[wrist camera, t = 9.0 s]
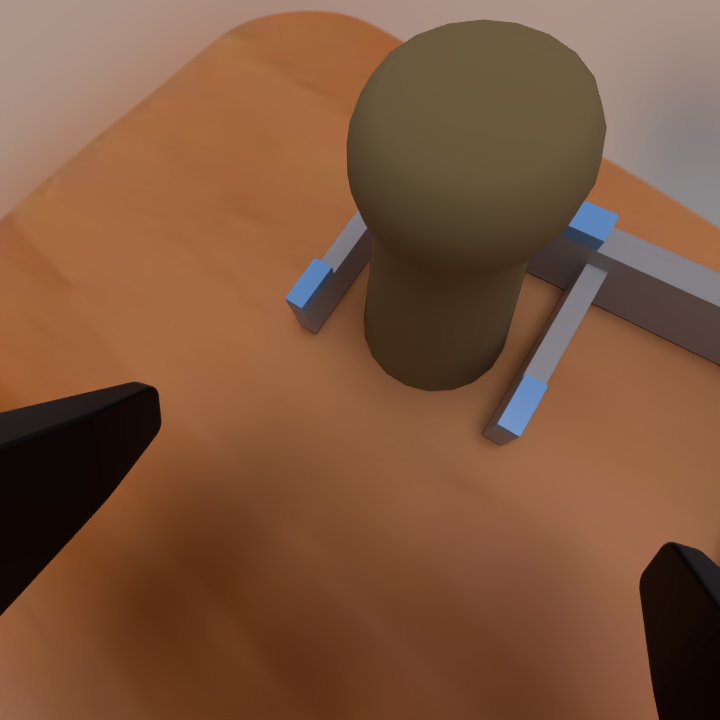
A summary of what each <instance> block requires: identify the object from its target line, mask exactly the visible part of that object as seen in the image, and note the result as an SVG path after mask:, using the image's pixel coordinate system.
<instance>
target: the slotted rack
mask: <svg viewBox="0 0 720 720" xmlns="http://www.w3.org/2000/svg"><path fill="white" fill-rule="evenodd" d="M618 217H619V215H617V214H615V213H612V212H610V211H607V210H605V209H603V208H600V207H598V206H596V205H593V204H591V203H589V202H586V201H584V202H583V204H582V205H581V207H580V209H579V210H578V212H577V213H576V215H575V216H574V218H573V219H572V221H571V222H570V224H569V225H568V227H567V228H566V230H565V231H564V232H563V233H562V234H561V235H559V236H558V237H557V238H555V239H554V240H553V241H552V242H550V243H549V244H548V245H546V246H545V247H544V248H543V249H541V250H540V251H539V252H537V253H536V254H535V255H534V256H532V257H531V258H530V259H529V261H528V265H527V268H526V272H529V273H531V274H533V275H535V276H537V277H539V278H541V279H543V280H545V281H547V282H549V283H551V284H553V285H555V286H557V287H559V288H562V289H564V290H565V291H564V293H563V294H562V296H561V298H560V300H559V301H558V303H557V305H556V307H555V308H554V310H553V312H552V314H551V315H550V317H549V319H548V321H547V322H546V324H545V326H544V328H543V329H542V331H541V333H540V335H539V336H538V338H537V340H536V341H535V343H534V345H533V347H532V348H531V350H530V352H529V354H528V355H527V357H526V359H525V361H524V362H523V364H522V366H521V368H520V369H519V371H518V373H517V375H516V376H515V378H514V380H513V381H512V383H511V385H510V387H509V388H508V390H507V392H506V394H505V395H504V397H503V399H502V401H501V402H500V404H499V406H498V408H497V409H496V411H495V413H494V415H493V416H492V418H491V420H490V422H489V423H488V425H487V427H486V428H485V430H484V432H483V434H482V435H484V436H485V437H487V438H489V439H490V440H492V441H494V442H495V443H497V444H499V445H500V446H502V445H504V444H506V443H508V442H510V441H512V440H515V439H517V438H519V437H520V436H521V434H522V433H523V431H524V429H525V427H526V425H527V424H528V422H529V420H530V418H531V416H532V414H533V413H534V411H535V409H536V407H537V405H538V404H539V402H540V400H541V398H542V396H543V395H544V393H545V391H546V389H547V387H548V385H546V384H547V382H548V380H549V378H550V377H551V375H552V373H553V371H554V369H555V368H556V366H557V364H558V362H559V360H560V358H561V357H562V355H563V353H564V351H565V349H566V348H567V346H568V344H569V342H570V340H571V339H572V337H573V335H574V333H575V331H576V330H577V328H578V326H579V324H580V322H581V321H582V319H583V317H584V315H585V313H586V312H587V310H588V308H589V306H590V304H591V303H593V304H595V305H597V306H599V307H601V308H603V309H605V310H607V311H609V312H611V313H613V314H615V315H617V316H619V317H621V318H623V319H626V320H628V321H630V322H632V323H634V324H636V325H638V326H640V327H642V328H644V329H646V330H648V331H650V332H652V333H654V334H657V335H659V336H661V337H663V338H665V339H667V340H669V341H671V342H673V343H675V344H677V345H679V346H681V347H683V348H685V349H687V350H690V351H692V352H694V353H696V354H698V355H700V356H702V357H704V358H706V359H708V360H710V361H712V362H714V363H716V364H718V365H720V273H718V272H716V271H714V270H711V269H709V268H707V267H704V266H702V265H700V264H698V263H695V262H693V261H691V260H688V259H686V258H684V257H681V256H679V255H677V254H674V253H672V252H670V251H668V250H665V249H663V248H661V247H658V246H656V245H654V244H651V243H649V242H647V241H644V240H642V239H640V238H638V237H635V236H633V235H631V234H628V233H626V232H624V231H621V230H619V229H617V228H614V227H613V226H614V224H615V222H616V221H617V219H618ZM372 243H373V235H372V234H371V233H370V231H369V230H368V228H367V226H366V225H365V223H364V221H363V219H362V217H361V215H360V212H359V210H358V211H357V212H356V213H355V215H354V216H353V217H352V219H351V220H350V222H349V223H348V224H347V226H346V227H345V228H344V230H343V231H342V232H341V234H340V235H339V236H338V238H337V239H336V240H335V242H334V243H333V244H332V246H331V247H330V248H329V250H328V251H327V253H326V254H325V255H324V257H323V258H322V259H321V261H320V260H318V259H316V258H315V259H314V260H313V261H312V263H311V264H310V265H309V267H308V268H307V269H306V271H305V272H304V273H303V275H302V276H301V277H300V279H299V280H298V281H297V283H296V284H295V285H294V287H293V288H292V289H291V291H290V292H289V293H288V295H287V296H286V297H285V299H286V301H287V303H288V304H289V306H290V308H291V309H292V311H293V313H294V314H295V316H296V318H297V319H298V321H299V323H300V324H301V326H303V327H305V328H306V329H308V330H309V331H311V332H313V333H314V334H316V333H317V332H318V331H319V329H320V328H321V326H322V325H323V324H324V322H325V321H326V319H327V318H328V317H329V315H330V314H331V312H332V311H333V310H334V308H335V307H336V305H337V304H338V303H339V301H340V300H341V298H342V297H343V295H344V294H345V293H346V291H347V290H348V288H349V287H350V286H351V284H352V283H353V281H354V280H355V279H356V277H357V276H358V274H359V273H360V272H361V270H362V269H363V267H364V266H365V265H366V263H367V262H368V260H369V259H370V258H371V252H372Z"/></svg>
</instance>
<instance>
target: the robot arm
mask: <svg viewBox="0 0 720 720" xmlns="http://www.w3.org/2000/svg"><path fill="white" fill-rule="evenodd" d="M160 427H161V412H160V402H159V394H158V391H157V389H156V388H155V387H153V386H150V385H147V384H143V383H140V382H130V383H126V384H122V385H117V386H113V387H109V388H105V389H100V390H96V391H92V392H87V393H83V394H79V395H75V396H70V397H66V398H62V399H57V400H53V401H49V402H45V403H40V404H36V405H32V406H27V407H23V408H19V409H15V410H10V411H6V412H2V413H0V616H1V615H2V614H3V613H4V612H5V610H6V609H7V608H8V607H9V606H10V605H11V604H12V603H13V602H14V601H15V600H16V598H17V597H18V596H19V595H20V594H21V593H22V592H23V591H24V590H25V589H26V588H27V587H28V585H29V584H30V583H31V582H32V581H33V580H34V579H35V578H36V577H37V576H38V575H39V573H40V572H41V571H42V570H43V569H44V568H45V567H46V566H47V565H48V564H49V563H50V561H51V560H52V559H53V558H54V557H55V556H56V555H57V554H58V553H59V552H60V551H61V550H62V548H63V547H64V546H65V545H66V544H67V543H68V542H69V541H70V540H71V539H72V538H73V536H74V535H75V534H76V533H77V532H78V531H79V530H80V529H81V528H82V527H83V526H84V525H85V523H86V522H87V521H88V520H89V519H90V518H91V517H92V516H93V515H94V514H95V513H96V511H97V510H98V509H99V508H100V507H101V506H102V505H103V504H104V502H105V501H106V500H107V499H108V498H109V496H110V495H111V494H112V493H113V492H114V490H115V489H116V488H117V487H118V485H119V484H120V483H121V481H122V480H123V479H124V477H125V476H126V475H127V473H128V472H129V471H130V469H131V468H132V467H133V465H134V464H135V463H136V462H137V460H138V459H139V458H140V456H141V455H142V454H143V452H144V451H145V450H146V448H147V447H148V446H149V444H150V443H151V442H152V440H153V439H154V438H155V437H156V435H157V434H158V432H159V430H160ZM639 589H640V598H641V605H642V613H643V620H644V628H645V636H646V643H647V651H648V658H649V666H650V673H651V680H652V686H653V692H654V698H655V703H656V707H657V712H658V717H659V720H720V568H719V567H718V566H717V565H716V564H715V563H714V562H713V561H712V560H711V559H710V558H708V557H707V556H706V555H705V554H704V553H703V552H701V551H700V550H698V549H695V548H692V547H689V546H685V545H682V544H678V543H675V542H668V543H666V544H664V545H663V546H662V547H661V548H660V550H659V551H658V552H657V554H656V555H655V557H654V558H653V559H652V561H651V562H650V563H649V565H648V566H647V567H646V569H645V570H644V572H643V573H642V575H641V578H640V585H639Z"/></svg>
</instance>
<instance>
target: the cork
mask: <svg viewBox="0 0 720 720" xmlns="http://www.w3.org/2000/svg"><path fill="white" fill-rule="evenodd" d="M605 134H606V123H605V117H604V112H603V107H602V103H601V99H600V95H599V92H598V88H597V84H596V80H595V77H594V76H593V74H592V73H591V72H590V71H589V69H588V68H587V66H586V65H585V64H584V62H583V61H582V60H581V58H580V57H579V56H578V55H577V53H576V52H574V51H573V50H571V49H570V48H568V47H567V46H566V45H564V44H563V43H561V42H560V41H558V40H557V39H555V38H554V37H552V36H551V35H549V34H547V33H544V32H541V31H538V30H535V29H532V28H529V27H527V26H524V25H521V24H518V23H511V22H501V21H490V20H476V21H467V22H459V23H450V24H446V25H443V26H441V27H438V28H435V29H432V30H429V31H426V32H424V33H421V34H418V35H416V36H414V37H413V38H411V39H410V40H408V41H407V42H405V43H404V44H402V45H401V46H399V47H398V48H396V49H395V50H393V51H392V52H390V53H389V54H388V56H387V57H386V58H385V59H384V60H383V62H382V63H381V64H380V65H379V66H378V68H377V69H376V70H375V71H374V72H373V74H372V75H371V76H370V78H369V80H368V81H367V83H366V85H365V87H364V88H363V90H362V92H361V93H360V96H359V99H358V101H357V104H356V107H355V109H354V112H353V115H352V117H351V120H350V124H349V131H348V138H347V174H348V179H349V184H350V190H351V194H352V196H353V198H354V201H355V203H356V205H357V208H358V210H359V212H360V215H361V217H362V219H363V221H364V223H365V225H366V226H367V228H368V230H369V231H370V233H371V234H372V235H373V243H372V252H371V261H370V270H369V279H368V288H367V297H366V306H365V315H364V323H365V338H366V341H367V343H368V346H369V349H370V351H371V354H372V356H373V357H374V359H375V360H376V361H377V362H378V363H379V365H380V366H381V367H382V368H383V369H384V371H385V372H386V373H387V374H389V375H390V376H392V377H394V378H395V379H397V380H398V381H400V382H402V383H403V384H405V385H407V386H411V387H415V388H419V389H423V390H427V391H440V390H453V389H456V388H459V387H461V386H464V385H467V384H469V383H472V382H474V381H476V380H477V379H478V378H479V377H481V376H482V375H483V374H484V373H486V372H487V371H488V370H489V369H491V368H492V366H493V365H494V363H495V361H496V360H497V358H498V357H499V355H500V353H501V352H502V350H503V348H504V344H505V341H506V337H507V334H508V330H509V327H510V324H511V320H512V317H513V313H514V310H515V306H516V303H517V299H518V296H519V292H520V289H521V285H522V282H523V278H524V275H525V272H526V268H527V265H528V261H529V259H530V258H531V257H532V256H534V255H535V254H536V253H537V252H539V251H540V250H541V249H543V248H544V247H545V246H546V245H548V244H549V243H550V242H552V241H553V240H554V239H555V238H557V237H558V236H559V235H561V234H562V233H563V232H564V231H565V230H566V228H567V227H568V225H569V224H570V222H571V221H572V219H573V218H574V216H575V215H576V213H577V212H578V210H579V209H580V207H581V205H582V204H583V202H584V201H585V199H586V197H587V196H588V194H589V193H590V191H591V189H592V188H593V186H594V185H595V183H596V179H597V175H598V171H599V167H600V163H601V159H602V153H603V146H604V140H605Z"/></svg>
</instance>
